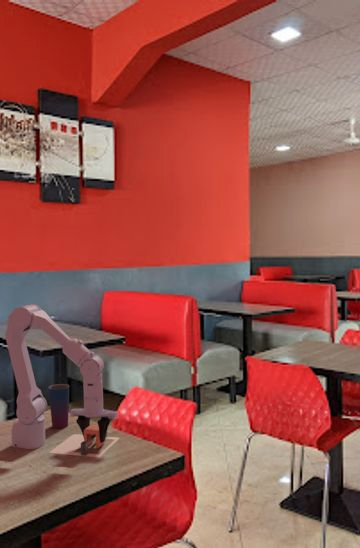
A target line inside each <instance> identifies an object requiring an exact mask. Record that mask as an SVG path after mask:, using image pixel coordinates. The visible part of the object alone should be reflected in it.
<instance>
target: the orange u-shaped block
mask: <svg viewBox="0 0 360 548" xmlns="http://www.w3.org/2000/svg"><path fill="white" fill-rule="evenodd" d="M94 434H96V438H94V439H95V448H97V449H100V447H101V446H103V445H104V444H105V443H106V440H105V441H104V442H103V443H100V433H99V426H98V424H90V426H89V427H87V428H86V429H85V430H84V442H85V441H86V440H87V439H89V438H90V437H91V436H92V435H94ZM94 439H93V440H92V441H90V442H89V443H88V446H89V445H91V444H92V443H93V442H94Z"/></svg>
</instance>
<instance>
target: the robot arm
mask: <svg viewBox="0 0 360 548" xmlns="http://www.w3.org/2000/svg"><path fill="white" fill-rule="evenodd" d="M7 320H8V323H7V326H6V331H5V334H4V336H5V341H6V345H7V349H8V353H9V357H10V361H11V366H12V370H13V373H14V377H15V382H16V386H17V391H18V395H17V397H16V406H17V407H16V412H15V413H16V418H17V419H16V420H15V421H14V422H13V424H12V426H11V447H12V448H20V449H26V450H34V449H39V448H42V447H43V446H45V445H46V422H45V420H46V419H45V412H46V410H47V409H48V403H47V400H46V398H45V397H44V396H43V393H42V390H41V389H40V388H39V387H38V386H37V384H36V380H35V376H34V371H33V366H32V361H31V358H30V354H29V350H28V346H27V343H26V336H27V335H28V333H29V331H31V329H32V330H41V331H43V332H44V333H45V334H46V335H48V336H49V337H50V338H51V339H52V340H54V341H55V342H56V343H57V344H58V345H59V346H61V347H62V353H63V354H64V355H65V356H66V357H67V358H68V360H70V361H71V362H73V363H74V364H75V366H76V367H78V368H79V372H80V374H81V375H82V377H83V381H82V383H83V408H72V409H71V410H69V413H70V415H69V416H70V417H71V418H75V417H77V419H76V421H75V422H76V424H77V425H78V426H79V429H80V431H81V433H82V434H81V435H83V437H84V430H85V429H86V428H87V427H89V426H90V425H91V418H92V419H93V418H95V419H97V418H98V419H99V420H97V425H98V426H99V433H100V443H103V442H104V441H105V442H106V439H105V436H106V432H107V433H108V428H109V426H110V423H111V421H112V420H114V421H115V420H117V418H118V417H119V416H118V411H115V410H109V409H106V408H105V409H104V391H103V390H104V387H103V372H102V371H103V370H104V367H105V362H104V359H103V358H102V357H101V356H100V355H99V354H95V352H94V350H93V351H91V350H89V349H88V348H87V346H85V345H84V344H83V343H84V341H83V340H81V339H79V340H78V339H77V338H70V337H69V336H68V334H66V332H65V331H64V330H63V329H62V328H61V327H60V326H59V325H58V324H56V322H55V321H54V320H52V318H51V317H50V316H49V315H48V314H47V312H46V311H44V310H43V309H41V307H40V306H39V305H37V304H34V303H29V304H27V305H23V306H19V307H16V308H14V309H13V310H12V311H11V312H10V314H9V315H8V316H7ZM103 444H104V443H103Z"/></svg>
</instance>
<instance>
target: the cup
mask: <svg viewBox="0 0 360 548" xmlns="http://www.w3.org/2000/svg"><path fill="white" fill-rule="evenodd" d="M48 397H49V398H48V399H49V408H50V417H51V419H50V420H51V427H52V429H56V430H62V429H66V428H68V427H69V412H70V410H69V405H70V385H69V384H66V383H58V384H52V385H48Z"/></svg>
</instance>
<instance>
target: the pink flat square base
mask: <svg viewBox="0 0 360 548" xmlns="http://www.w3.org/2000/svg"><path fill="white" fill-rule="evenodd" d="M93 439H96V434H94V435H92V436H91V437H90V438H89V439H87V440H86V441H85V442H84V437H83V434H79V433H77V434H76V433H73V434H72V435H70V436H69V437H68V438H66V439H65V440H64V441H62V442H61V443H59V445H57V446H55V448H53V449H51V450H50V451H49V452H48V454H56V455H58V454H60V455H68V456H77V457H78V456H80V457H89V458H90V457H91V458H100V457H102V455H104V454H105V453H106V452H107V451H108V450H109V449H110V448H111V447H112V446H113V445H114V444H115V443H116V442H117V441H119V440H120V439H121V437H118V436H117V437H116V436H113V437H112V436H108V431H107V432H106V436H105V440H111V441H112V442H110V443H109V444H108V445H107V446H106V447H105V448H104V449H103V450H102V451H101V452H100V453H98V454H97V453H89V445H88V443H89V442H90V441H92V440H93ZM79 448H80V452H76V451H77V450H78V449H79Z"/></svg>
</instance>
